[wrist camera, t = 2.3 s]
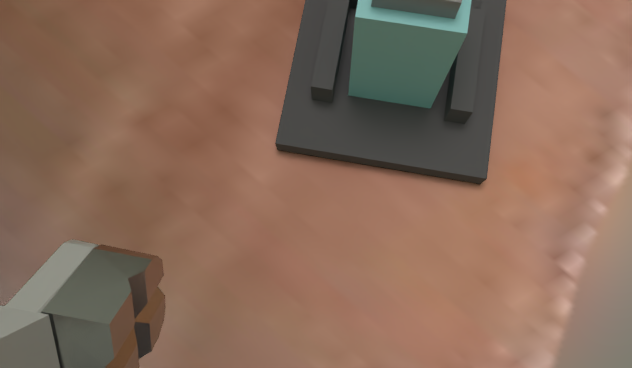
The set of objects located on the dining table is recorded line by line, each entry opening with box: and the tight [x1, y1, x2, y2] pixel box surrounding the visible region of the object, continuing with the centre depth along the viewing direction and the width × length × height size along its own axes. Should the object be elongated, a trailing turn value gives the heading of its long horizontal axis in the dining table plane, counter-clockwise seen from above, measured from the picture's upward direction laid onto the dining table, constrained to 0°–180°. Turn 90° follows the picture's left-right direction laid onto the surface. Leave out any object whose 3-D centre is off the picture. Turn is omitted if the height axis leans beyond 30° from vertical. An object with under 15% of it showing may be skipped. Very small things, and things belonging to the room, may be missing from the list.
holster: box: [275, 0, 506, 184], centre depth 26 cm, size 10×10×2 cm
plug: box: [348, 0, 472, 108], centre depth 22 cm, size 4×4×8 cm
